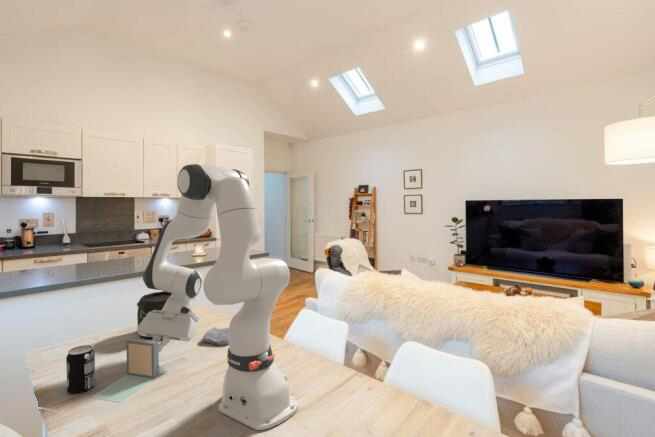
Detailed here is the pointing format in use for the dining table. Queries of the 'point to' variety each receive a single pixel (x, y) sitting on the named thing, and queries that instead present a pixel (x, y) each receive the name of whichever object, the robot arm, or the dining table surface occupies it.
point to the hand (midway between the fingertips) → (155, 350)
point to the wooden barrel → (151, 306)
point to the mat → (123, 388)
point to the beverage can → (80, 369)
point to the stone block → (217, 336)
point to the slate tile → (142, 358)
